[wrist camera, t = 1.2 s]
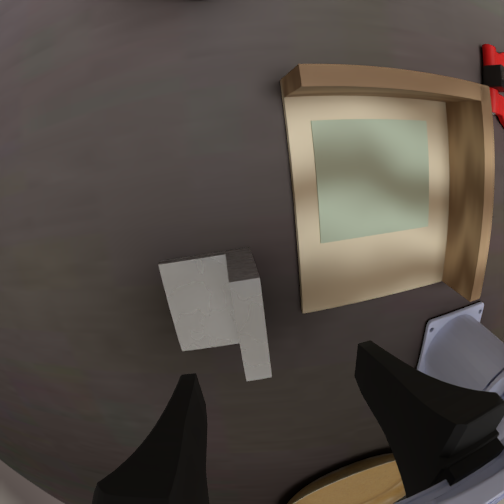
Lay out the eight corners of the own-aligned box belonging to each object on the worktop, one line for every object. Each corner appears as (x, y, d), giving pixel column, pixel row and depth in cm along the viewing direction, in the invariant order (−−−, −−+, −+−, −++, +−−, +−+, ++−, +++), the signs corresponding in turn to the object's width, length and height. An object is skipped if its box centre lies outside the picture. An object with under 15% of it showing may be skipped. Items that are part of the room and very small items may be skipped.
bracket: (260, 333, 23) (271, 377, 19) (182, 344, 23) (178, 390, 18) (249, 246, 21) (259, 277, 16) (160, 260, 20) (146, 294, 16)
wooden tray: (451, 278, 23) (479, 298, 20) (303, 313, 22) (319, 345, 19) (453, 89, 18) (489, 86, 14) (281, 78, 17) (298, 64, 13)
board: (448, 276, 24) (452, 278, 23) (301, 310, 23) (303, 314, 22) (450, 89, 18) (454, 89, 18) (279, 80, 17) (281, 78, 17)
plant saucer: (266, 522, 38) (269, 537, 35) (296, 459, 31) (302, 480, 27) (386, 498, 42) (391, 510, 39) (446, 425, 34) (456, 439, 31)
